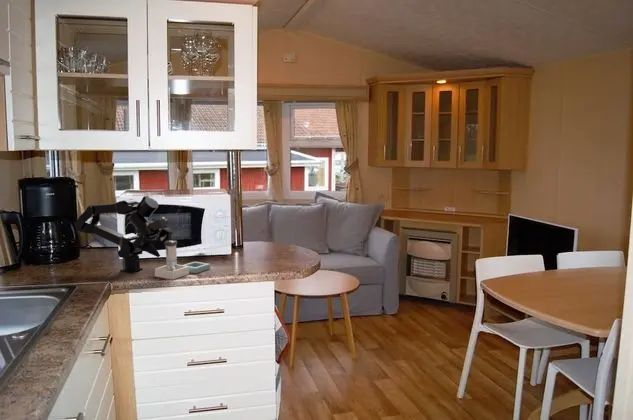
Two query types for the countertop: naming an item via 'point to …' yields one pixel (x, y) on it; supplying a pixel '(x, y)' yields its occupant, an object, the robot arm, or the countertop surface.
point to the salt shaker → (171, 255)
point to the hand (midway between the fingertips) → (166, 253)
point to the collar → (197, 266)
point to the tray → (171, 272)
